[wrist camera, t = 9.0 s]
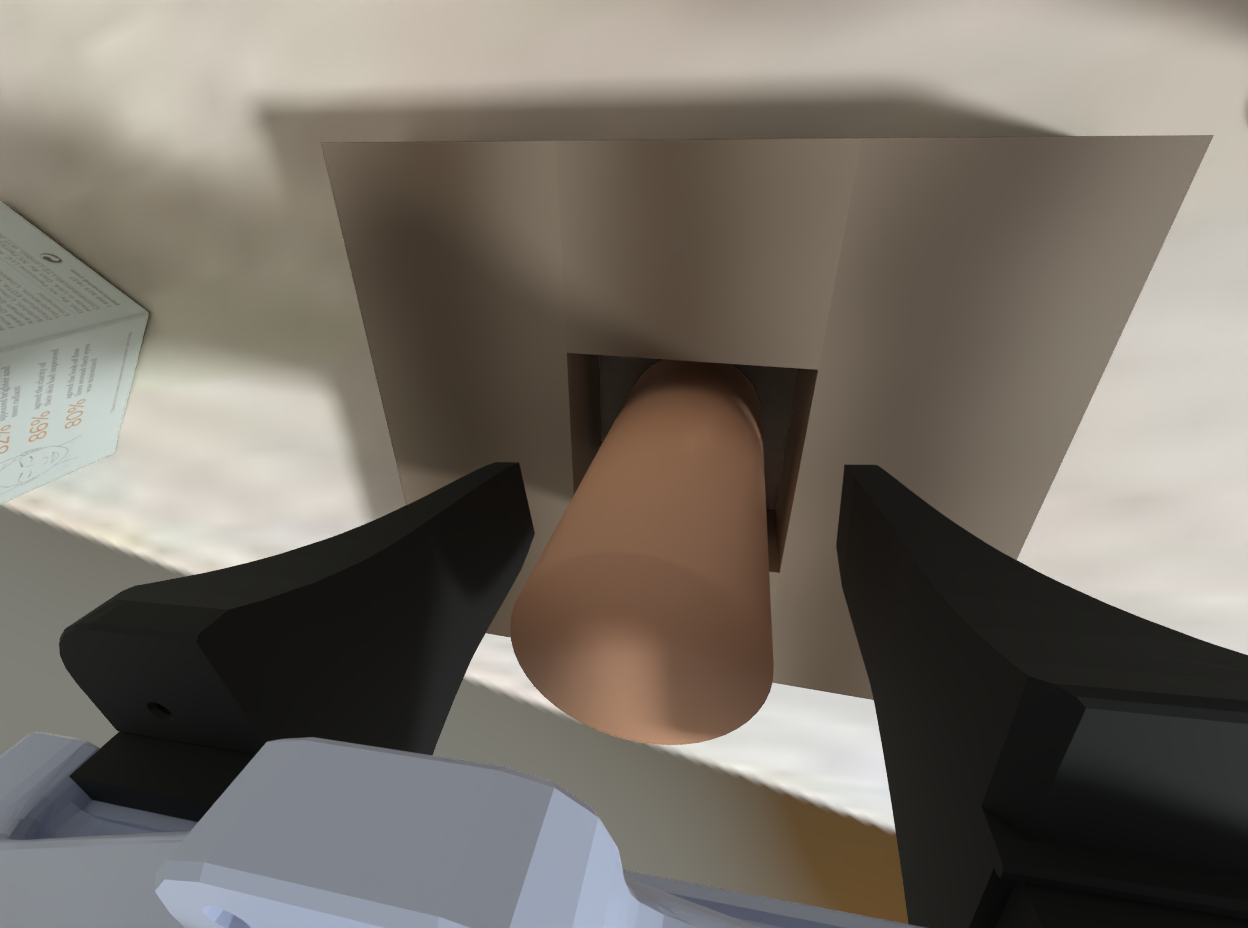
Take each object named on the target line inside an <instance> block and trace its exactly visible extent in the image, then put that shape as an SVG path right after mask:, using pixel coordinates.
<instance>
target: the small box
mask: <svg viewBox="0 0 1248 928" xmlns="http://www.w3.org/2000/svg"><path fill="white" fill-rule="evenodd" d="M148 317H149V313H148V312H147V311H146V310H145V309H144V308H142V307H141V306H140V305H138V304H137V303H136V302H134V301H133V300H132V299H130V298H129V297H128V296H126V295H125V294H124V293H122V292H121V291H120V290H118V289H117V288H116V287H114V286H113V285H112V284H110V283H109V282H108V281H106V280H105V279H104V278H102V277H101V276H100V275H99V274H97V273H96V272H95V271H93V270H92V269H91V268H89V267H88V266H87V265H85V264H84V263H82V262H81V261H80V260H78V259H77V258H76V257H74V256H73V255H72V254H71V253H69V252H68V251H67V250H65V249H64V248H63V247H61V246H60V245H59V244H57V243H56V242H55V241H53V240H52V239H51V238H49V237H48V236H47V235H46V234H44V233H43V232H42V231H40V230H39V229H38V228H36V227H35V226H34V225H32V224H31V223H30V222H28V221H27V220H26V219H24V218H23V217H22V216H20V215H19V214H18V213H16V212H15V211H14V210H12V209H11V208H10V207H8V206H7V205H6V204H4V203H3V202H2V201H0V504H2V503H5V502H7V501H9V500H11V499H13V498H16V497H18V496H20V495H22V494H24V493H27V492H29V491H31V490H33V489H36V488H38V487H40V486H43V485H45V484H47V483H49V482H51V481H54V480H56V479H58V478H60V477H62V476H65V475H67V474H69V473H71V472H74V471H76V470H78V469H80V468H83V467H85V466H87V465H89V464H91V463H94V462H96V461H98V460H100V459H102V458H105V457H107V456H110V455H112V454H113V453H114V452H115V450H116V445H117V441H118V436H119V432H120V429H121V424H122V420H123V416H124V412H125V409H126V405H127V401H128V397H129V393H130V389H131V385H132V381H133V377H134V373H135V369H136V365H137V361H138V357H139V352H140V348H141V344H142V340H143V336H144V332H145V328H146V324H147V320H148Z"/></svg>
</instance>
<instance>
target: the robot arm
mask: <svg viewBox="0 0 1248 928" xmlns="http://www.w3.org/2000/svg"><path fill="white" fill-rule="evenodd" d="M534 535H535V531H534V527H533V522H532V518H531V513H530V509H529V504H528V500H527V495H526V491H525V486H524V482H523V477H522V473H521V468H520V464H519V462H495V463H492V464H489V465H486V466H484V467H482V468H480V469H477V470H475V471H473V472H471V473H469V474H467V475H465V476H463V477H461V478H459V479H457V480H455V481H453V482H451V483H450V484H448V485H446V486H444V487H442V488H440V489H438V490H436V491H434V492H432V493H430V494H428V495H426V496H424V497H422V498H420V499H418V500H416V501H414V502H412V503H410V504H408V505H406V506H404V507H402V508H400V509H398V510H396V511H393V512H391V513H389V514H387V515H385V516H383V517H381V518H379V519H376V520H374V521H372V522H369V523H367V524H365V525H362V526H360V527H357V528H355V529H352V530H349V531H347V532H344V533H342V534H339V535H337V536H334V537H331V538H328V539H325V540H322V541H319V542H316V543H313V544H310V545H307V546H304V547H301V548H298V549H294V550H291V551H288V552H285V553H282V554H279V555H275V556H272V557H268V558H264V559H260V560H257V561H253V562H249V563H245V564H241V565H237V566H233V567H229V568H225V569H220V570H216V571H211V572H207V573H202V574H197V575H191V576H187V577H181V578H176V579H170V580H166V581H160V582H155V583H150V584H143V585H137V586H134V587H131V588H128V589H126V590H124V591H122V592H120V593H118V594H117V595H115V596H114V597H112V598H111V599H109V600H108V601H106V602H105V603H103V604H102V605H100V606H99V607H97V608H96V609H94V610H93V611H91V612H90V613H88V614H87V615H85V616H84V617H82V618H81V619H79V620H78V621H76V622H75V623H73V624H72V625H70V626H69V627H67V628H66V629H65V630H64V632H63V633H62V635H61V637H60V642H59V647H60V656H61V658H62V661H63V663H64V665H65V667H66V669H67V670H68V672H69V673H70V675H71V676H72V677H73V679H74V680H75V682H76V683H77V684H78V685H79V686H80V688H81V689H82V690H83V691H84V692H85V693H86V694H87V695H88V697H89V698H90V699H91V701H92V702H93V703H94V704H95V705H96V706H97V707H98V709H99V710H100V711H101V712H102V713H103V715H104V716H105V717H106V718H107V719H108V720H109V722H110V723H111V724H112V725H113V726H114V728H115V729H116V730H117V731H120V732H118V734H116V735H115V736H114V737H113V738H112V739H111V740H109V741H108V742H107V743H106V744H105V745H104V746H103V747H101V748H99V747H97V746H95V745H93V744H92V743H90V742H88V741H85V740H82V739H79V738H73V737H68V736H62V735H56V734H50V733H45V732H34V733H30V734H28V735H27V736H26V737H25V738H23V739H22V740H21V741H20V742H18V743H17V744H15V745H14V746H13V747H12V748H10V749H9V750H8V751H6V752H5V753H4V754H3V755H1V756H0V928H1248V655H1245V654H1242V653H1239V652H1236V651H1233V650H1229V649H1226V648H1223V647H1220V646H1217V645H1214V644H1211V643H1208V642H1205V641H1202V640H1199V639H1197V638H1194V637H1191V636H1189V635H1186V634H1183V633H1181V632H1178V631H1175V630H1173V629H1170V628H1167V627H1164V626H1162V625H1159V624H1156V623H1154V622H1151V621H1148V620H1146V619H1143V618H1141V617H1138V616H1136V615H1133V614H1131V613H1128V612H1126V611H1123V610H1121V609H1119V608H1116V607H1114V606H1111V605H1109V604H1106V603H1104V602H1102V601H1100V600H1097V599H1095V598H1093V597H1091V596H1089V595H1086V594H1084V593H1082V592H1080V591H1077V590H1075V589H1073V588H1071V587H1069V586H1066V585H1064V584H1062V583H1060V582H1058V581H1056V580H1054V579H1052V578H1050V577H1048V576H1046V575H1043V574H1041V573H1039V572H1037V571H1036V570H1034V569H1032V568H1030V567H1028V566H1026V565H1024V564H1023V563H1021V562H1019V561H1017V560H1015V559H1013V558H1012V557H1010V556H1008V555H1006V554H1004V553H1002V552H1001V551H999V550H997V549H995V548H994V547H992V546H990V545H989V544H987V543H985V542H984V541H982V540H981V539H979V538H978V537H976V536H974V535H973V534H971V533H970V532H968V531H967V530H965V529H964V528H962V527H961V526H959V525H957V524H956V523H955V522H953V521H952V520H950V519H949V518H947V517H946V516H944V515H943V514H942V513H940V512H939V511H937V510H936V509H935V508H933V507H932V506H931V505H929V504H928V503H927V502H925V501H924V500H923V499H921V498H920V497H919V496H917V495H916V494H915V493H913V492H912V491H911V490H910V489H908V488H907V487H906V486H904V485H903V484H902V483H901V482H899V481H898V480H897V479H896V478H894V477H893V476H892V475H890V474H889V473H888V472H886V471H885V470H884V469H882V468H881V467H880V466H878V465H847V464H844V474H843V484H842V493H841V503H840V513H839V523H838V532H837V542H836V549H837V556H838V564H839V571H840V577H841V584H842V589H843V592H844V596H845V599H846V603H847V606H848V610H849V613H850V617H851V620H852V624H853V627H854V631H855V634H856V637H857V641H858V644H859V648H860V651H861V654H862V658H863V661H864V665H865V668H866V672H867V675H868V678H869V682H870V686H871V690H872V694H873V699H874V703H875V708H876V714H877V719H878V725H879V731H880V736H881V742H882V748H883V753H884V760H885V766H886V772H887V778H888V784H889V790H890V797H891V803H892V809H893V816H894V823H895V829H896V836H897V843H898V850H899V856H900V863H901V870H902V877H903V884H904V892H905V900H906V908H907V915H908V923H909V924H904V923H899V922H894V921H889V920H884V919H878V918H873V917H867V916H863V915H857V914H852V913H847V912H841V911H836V910H831V909H825V908H821V907H815V906H810V905H805V904H800V903H794V902H789V901H784V900H779V899H774V898H769V897H763V896H758V895H753V894H748V893H743V892H737V891H732V890H727V889H722V888H716V887H711V886H706V885H700V884H695V883H690V882H685V881H679V880H675V879H669V878H664V877H659V876H654V875H649V874H643V873H638V872H633V871H628V870H622V865H621V860H620V855H619V850H618V848H617V846H616V844H615V843H614V841H613V840H612V838H611V836H610V834H609V833H608V831H607V830H606V828H605V826H604V825H603V823H602V822H601V820H600V819H599V817H598V815H597V814H596V812H595V810H594V809H593V808H592V807H591V806H590V805H588V804H586V803H585V802H584V801H582V800H581V799H579V798H578V797H576V796H574V795H573V794H572V793H570V792H569V791H567V790H566V789H564V788H563V787H561V786H560V785H558V784H557V783H555V782H554V781H551V780H547V779H544V778H541V777H538V776H535V775H531V774H528V773H525V772H522V771H519V770H515V769H512V768H509V767H505V766H498V765H491V764H485V763H478V762H472V761H465V760H459V759H452V758H445V757H439V756H433V752H434V749H435V746H436V744H437V741H438V738H439V736H440V734H441V731H442V728H443V726H444V723H445V721H446V718H447V716H448V713H449V711H450V708H451V706H452V703H453V701H454V698H455V695H456V694H457V691H458V689H459V687H460V684H461V682H462V680H463V677H464V675H465V673H466V670H467V668H468V666H469V664H470V661H471V659H472V657H473V655H474V653H475V651H476V650H477V648H478V646H479V644H480V642H481V640H482V638H483V637H484V635H485V633H486V631H487V630H488V628H489V626H490V624H491V623H492V621H493V619H494V617H495V616H496V614H497V612H498V610H499V609H500V607H501V605H502V603H503V602H504V600H505V598H506V596H507V595H508V593H509V591H510V589H511V587H512V586H513V584H514V582H515V580H516V578H517V576H518V575H519V573H520V571H521V569H522V567H523V564H524V562H525V559H526V557H527V554H528V552H529V549H530V546H531V543H532V540H533V538H534Z"/></svg>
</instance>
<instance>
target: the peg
mask: <svg viewBox="0 0 1248 928" xmlns="http://www.w3.org/2000/svg"><path fill="white" fill-rule="evenodd" d="M510 633H511V642H512V645H513V649H514V653H515V655H516V657H517V660H518V662H519V664H520V666H521V668H522V669H523V671H524V673H525V674H526V676H527V677H528V678H529V680H530V681H531V682H532V684H533V685H534V686H535V687H536V688H537V689H538V690H539V691H540V693H541V694H542V695H543V696H544V697H546V698H547V699H548V700H549V701H550V702H551V703H553V704H554V705H555V706H556V707H558V708H559V709H560V710H562V711H563V712H565V713H566V714H567V715H569V716H571V717H573V718H574V719H576V720H578V721H579V722H581V723H583V724H585V725H587V726H589V727H592V728H594V729H596V730H599V731H601V732H604V733H607V734H609V735H612V736H616V737H619V738H622V739H626V740H631V741H636V742H641V743H649V744H660V745H683V744H691V743H699V742H703V741H707V740H711V739H715V738H717V737H720V736H723V735H726V734H728V733H730V732H732V731H734V730H736V729H738V728H739V727H740V726H742V725H743V724H745V723H746V722H748V721H749V720H750V719H751V718H752V717H753V716H754V715H755V714H756V713H757V712H758V711H759V709H760V708H761V707H762V705H763V704H764V703H765V701H766V699H767V696H768V694H769V692H770V689H771V685H772V681H773V670H774V662H773V641H772V621H771V600H770V579H769V558H768V537H767V516H766V495H765V474H764V453H763V433H762V414H761V406H760V402H759V398H758V396H757V394H756V391H755V389H754V388H753V386H752V385H751V383H750V382H749V380H748V379H747V378H746V377H745V376H744V375H743V374H742V373H741V372H740V371H739V370H738V369H736V368H735V367H734V366H732V365H731V364H726V363H711V362H697V361H682V360H667V359H664V360H662V361H660V362H658V363H656V364H655V365H653V366H651V367H650V368H649V369H648V370H647V371H645V372H644V373H643V374H642V376H641V377H640V378H639V379H638V380H637V382H636V383H635V385H634V387H633V388H632V390H631V392H630V394H629V396H628V398H627V399H626V401H625V403H624V405H623V407H622V408H621V410H620V412H619V414H618V416H617V418H616V419H615V421H614V423H613V425H612V427H611V428H610V430H609V432H608V434H607V436H606V438H605V439H604V441H603V443H602V445H601V447H600V449H599V450H598V452H597V454H596V456H595V458H594V459H593V461H592V463H591V465H590V467H589V469H588V470H587V472H586V474H585V476H584V478H583V479H582V481H581V483H580V485H579V487H578V489H577V490H576V492H575V494H574V496H573V498H572V500H571V501H570V503H569V505H568V507H567V509H566V510H565V512H564V514H563V516H562V518H561V520H560V521H559V523H558V525H557V527H556V529H555V531H554V532H553V534H552V536H551V538H550V540H549V541H548V543H547V545H546V547H545V549H544V551H543V552H542V554H541V556H540V558H539V560H538V561H537V563H536V565H535V567H534V569H533V571H532V572H531V574H530V576H529V578H528V580H527V582H526V583H525V585H524V587H523V589H522V591H521V592H520V594H519V596H518V598H517V600H516V602H515V605H514V607H513V611H512V615H511V623H510Z"/></svg>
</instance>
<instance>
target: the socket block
mask: <svg viewBox="0 0 1248 928" xmlns="http://www.w3.org/2000/svg"><path fill="white" fill-rule="evenodd" d="M1212 138H1213V135H1188V136H1067V137H946V138H826V139H705V140H585V141H464V142H343V143H321V145H322V149H323V153H324V157H325V162H326V166H327V170H328V174H329V179H330V183H331V187H332V191H333V195H334V200H335V204H336V208H337V212H338V217H339V221H340V225H341V229H342V234H343V238H344V242H345V246H346V251H347V255H348V259H349V263H350V268H351V272H352V276H353V280H354V285H355V289H356V293H357V297H358V302H359V306H360V310H361V314H362V319H363V323H364V327H365V331H366V336H367V340H368V344H369V348H370V353H371V357H372V361H373V365H374V370H375V374H376V378H377V382H378V386H379V391H380V395H381V399H382V403H383V408H384V412H385V416H386V420H387V425H388V429H389V433H390V437H391V442H392V446H393V450H394V454H395V459H396V463H397V467H398V471H399V476H400V480H401V484H402V488H403V493H404V497H405V501H406V505H408V504H410V503H412V502H414V501H416V500H418V499H420V498H422V497H424V496H426V495H428V494H430V493H432V492H434V491H436V490H438V489H440V488H442V487H444V486H446V485H448V484H450V483H451V482H453V481H455V480H457V479H459V478H461V477H463V476H465V475H467V474H469V473H471V472H473V471H475V470H477V469H480V468H482V467H484V466H486V465H489V464H492V463H495V462H519V464H520V468H521V473H522V477H523V482H524V486H525V491H526V495H527V500H528V504H529V509H530V513H531V518H532V522H533V527H534V531H535V535H534V538H533V540H532V543H531V546H530V549H529V552H528V554H527V557H526V559H525V562H524V564H523V567H522V569H521V571H520V573H519V575H518V576H517V578H516V580H515V582H514V584H513V586H512V587H511V589H510V591H509V593H508V595H507V596H506V598H505V600H504V602H503V603H502V605H501V607H500V609H499V610H498V612H497V614H496V616H495V617H494V619H493V621H492V623H491V624H490V626H489V628H488V630H487V631H486V633H488V634H494V635H500V636H506V637H511V633H510V623H511V615H512V611H513V607H514V605H515V602H516V600H517V598H518V596H519V594H520V592H521V591H522V589H523V587H524V585H525V583H526V582H527V580H528V578H529V576H530V574H531V572H532V571H533V569H534V567H535V565H536V563H537V561H538V560H539V558H540V556H541V554H542V552H543V551H544V549H545V547H546V545H547V543H548V541H549V540H550V538H551V536H552V534H553V532H554V531H555V529H556V527H557V525H558V523H559V521H560V520H561V518H562V516H563V514H564V512H565V510H566V509H567V507H568V505H569V503H570V501H571V500H572V498H573V496H574V494H575V492H576V490H577V489H578V487H579V485H580V483H581V481H582V479H583V478H584V476H585V474H586V472H587V470H588V469H589V467H590V465H591V463H592V461H593V459H594V458H595V456H596V454H597V452H598V450H599V449H600V447H601V418H600V367H599V355H607V356H622V357H637V358H652V359H667V360H682V361H697V362H711V363H726V364H741V365H756V366H771V367H786V368H799V374H798V380H797V386H796V392H795V398H794V403H793V409H792V415H791V421H790V427H789V433H788V438H787V444H786V450H785V456H784V462H783V468H782V473H781V479H780V485H779V491H778V497H777V503H776V508H775V511H771V510H766V516H767V537H768V558H769V579H770V600H771V621H772V641H773V662H774V670H773V681H772V682H773V683H779V684H784V685H790V686H796V687H802V688H808V689H813V690H819V691H825V692H831V693H837V694H842V695H848V696H854V697H860V698H866V699H872V700H874V699H873V694H872V690H871V686H870V682H869V678H868V675H867V672H866V668H865V665H864V661H863V658H862V654H861V651H860V648H859V644H858V641H857V637H856V634H855V631H854V627H853V624H852V620H851V617H850V613H849V610H848V606H847V603H846V599H845V596H844V592H843V589H842V584H841V577H840V571H839V564H838V556H837V549H836V542H837V532H838V523H839V513H840V503H841V493H842V484H843V474H844V464H847V465H878V466H880V467H881V468H882V469H884V470H885V471H886V472H888V473H889V474H890V475H892V476H893V477H894V478H896V479H897V480H898V481H899V482H901V483H902V484H903V485H904V486H906V487H907V488H908V489H910V490H911V491H912V492H913V493H915V494H916V495H917V496H919V497H920V498H921V499H923V500H924V501H925V502H927V503H928V504H929V505H931V506H932V507H933V508H935V509H936V510H937V511H939V512H940V513H942V514H943V515H944V516H946V517H947V518H949V519H950V520H952V521H953V522H955V523H956V524H957V525H959V526H961V527H962V528H964V529H965V530H967V531H968V532H970V533H971V534H973V535H974V536H976V537H978V538H979V539H981V540H982V541H984V542H985V543H987V544H989V545H990V546H992V547H994V548H995V549H997V550H999V551H1001V552H1002V553H1004V554H1006V555H1008V556H1010V557H1012V558H1013V559H1015V560H1017V558H1018V555H1019V553H1020V551H1021V549H1022V547H1023V545H1024V542H1025V540H1026V538H1027V536H1028V534H1029V532H1030V530H1031V527H1032V525H1033V523H1034V521H1035V519H1036V517H1037V514H1038V512H1039V510H1040V508H1041V506H1042V504H1043V502H1044V499H1045V497H1046V495H1047V493H1048V491H1049V489H1050V486H1051V484H1052V482H1053V480H1054V478H1055V476H1056V474H1057V471H1058V469H1059V467H1060V465H1061V463H1062V461H1063V458H1064V456H1065V454H1066V452H1067V450H1068V448H1069V446H1070V443H1071V441H1072V439H1073V437H1074V435H1075V433H1076V430H1077V428H1078V426H1079V424H1080V422H1081V420H1082V418H1083V415H1084V413H1085V411H1086V409H1087V407H1088V405H1089V402H1090V400H1091V398H1092V396H1093V394H1094V392H1095V390H1096V387H1097V385H1098V383H1099V381H1100V379H1101V377H1102V374H1103V372H1104V370H1105V368H1106V366H1107V364H1108V362H1109V359H1110V357H1111V355H1112V353H1113V351H1114V349H1115V346H1116V344H1117V342H1118V340H1119V338H1120V336H1121V334H1122V331H1123V329H1124V327H1125V325H1126V323H1127V321H1128V318H1129V316H1130V314H1131V312H1132V310H1133V308H1134V306H1135V303H1136V301H1137V299H1138V297H1139V295H1140V293H1141V290H1142V288H1143V286H1144V284H1145V282H1146V280H1147V278H1148V275H1149V273H1150V271H1151V269H1152V267H1153V265H1154V262H1155V260H1156V258H1157V256H1158V254H1159V252H1160V250H1161V247H1162V245H1163V243H1164V241H1165V239H1166V237H1167V234H1168V232H1169V230H1170V228H1171V226H1172V224H1173V222H1174V219H1175V217H1176V215H1177V213H1178V211H1179V209H1180V206H1181V204H1182V202H1183V200H1184V198H1185V196H1186V194H1187V191H1188V189H1189V187H1190V185H1191V183H1192V181H1193V178H1194V176H1195V174H1196V172H1197V170H1198V168H1199V166H1200V163H1201V161H1202V159H1203V157H1204V155H1205V153H1206V150H1207V148H1208V146H1209V144H1210V142H1211V140H1212Z"/></svg>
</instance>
